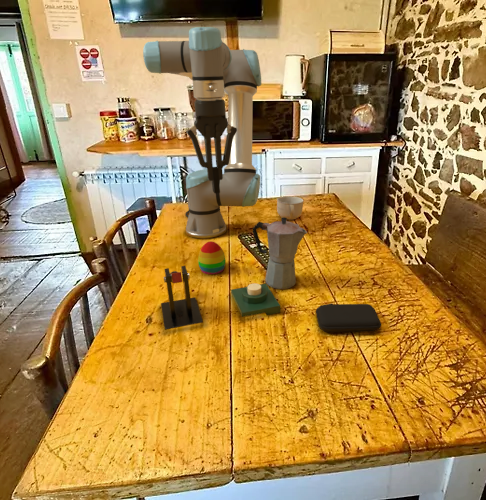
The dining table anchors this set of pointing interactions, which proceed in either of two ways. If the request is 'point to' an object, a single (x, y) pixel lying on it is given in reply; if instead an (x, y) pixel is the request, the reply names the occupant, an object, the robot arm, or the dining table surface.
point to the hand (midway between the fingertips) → (216, 191)
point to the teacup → (289, 207)
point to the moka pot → (280, 251)
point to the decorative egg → (211, 258)
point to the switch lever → (176, 277)
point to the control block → (255, 301)
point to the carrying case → (347, 318)
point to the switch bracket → (180, 305)
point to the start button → (254, 289)
